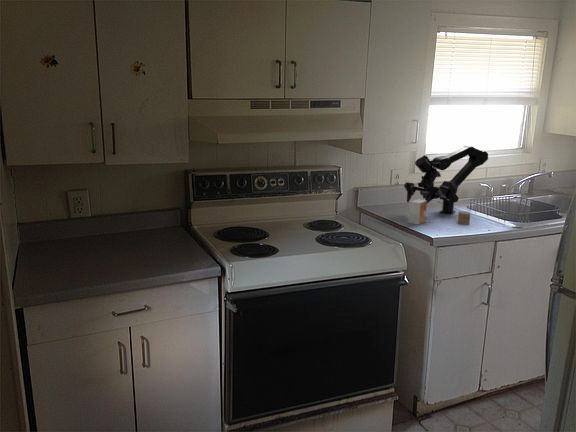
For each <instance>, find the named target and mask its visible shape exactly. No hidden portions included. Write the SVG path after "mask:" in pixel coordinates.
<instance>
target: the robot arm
mask: <svg viewBox="0 0 576 432" xmlns="http://www.w3.org/2000/svg"><path fill="white" fill-rule="evenodd" d="M467 156H468V159H467V160H468V161H467V162H466V163H465V164H464V166H463V167H461V169H460V170H459V171H458V172H457V173H456V174H455V175H454V176H453V177H452V178H451V179H450V180H449V181H446V180H444V181H443V182H442V183H441V185H439V186H435V184H434V183H435V181H436V179H437V178H441V175H442V174H441V173H440V172H441V171H445V170H446V169H448V168H450V167H451V165H452V164H453V163H455V162H457V161H459V160H461V159H463V158H465V157H467ZM488 160H489V153H488V152H487V151H486V150H485V151H484V150H480V149H478V148H476V147H475V146H473V145H464V146H463V147H461V148H459V149H456V150H455V151H454V152H453V151H452V152H450V153H449V154H447V155H441V156H435V157H433V159H431V160H430V159H429V158H428V156H427V155H423V156H422V157H419V158H417V159H416V160H415V162H414V165H415V166H416V167H417V168H418V170H419V171H421V173H424V175H421V178H420V179H421V180H420V182H418V183H417V186H416V185H415V184H414V182H408V181H406V182H405V183H404V185H403V187H404V188H405V190H406V191H405V192H406V203H410V201H411V199H412V197H413V196H414V195H415V193H416V191H418V192H419V195H420V196H422V198H423V199H424V200H426V201H427V204H429V203H430V202H432V200H435V199H436V200H437V199H439V200H442V206H441V207H442V208H441V209H440V210H439V213H444V214H449V215H453V214H455V213H456V210H454V209H455V203H458V202H459V199H460V198H459V196H458V195H457V192H458V189H459V187H460V185H461V184H462V183H463V182H464V181H465V180H466V179H467V178H468V177H469V176H470V174H472V172H473V171H475V169H476V168H478V167H480V166H482V165H483V164H485V163H486V162H488ZM438 170H439V171H438Z"/></svg>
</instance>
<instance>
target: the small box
mask: <svg viewBox="0 0 576 432" xmlns="http://www.w3.org/2000/svg"><path fill="white" fill-rule="evenodd" d="M427 205H428V203H427V201H426V200H425V199H424V200H423V199H418V198H416V199H414V200H410V201H409V205H408V206H409V207H408V209H409V210H408V221H407V223H408V224H411V225H418V226H419V225H421V224H423V223H426V219H427V218H426V217H427Z"/></svg>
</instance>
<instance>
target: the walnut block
mask: <svg viewBox="0 0 576 432" xmlns="http://www.w3.org/2000/svg"><path fill="white" fill-rule="evenodd" d="M457 215H458V216H457V222H458V223H457V224H461V225H470V222H471V221H470V220H471V212H470V211H466V210H465V211H464V210H459V211H458V213H457Z"/></svg>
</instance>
